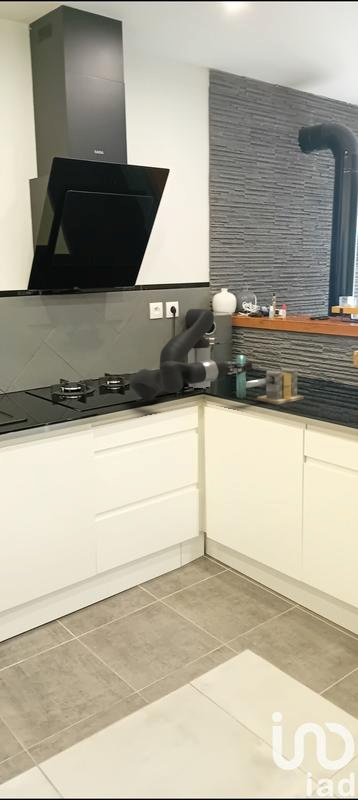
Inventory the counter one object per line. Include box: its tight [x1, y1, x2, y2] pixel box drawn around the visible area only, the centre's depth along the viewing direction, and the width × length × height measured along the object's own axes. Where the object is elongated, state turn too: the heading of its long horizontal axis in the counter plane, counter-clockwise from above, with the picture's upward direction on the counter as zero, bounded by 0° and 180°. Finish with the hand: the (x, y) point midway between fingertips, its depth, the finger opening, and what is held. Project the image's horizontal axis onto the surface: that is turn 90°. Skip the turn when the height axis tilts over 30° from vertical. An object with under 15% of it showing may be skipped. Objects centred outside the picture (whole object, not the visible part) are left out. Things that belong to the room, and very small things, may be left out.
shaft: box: [236, 354, 275, 398], centre depth 228 cm, size 18×3×15 cm, turn 125°
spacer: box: [274, 370, 292, 399], centre depth 237 cm, size 4×7×9 cm, turn 35°
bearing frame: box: [256, 367, 304, 405], centre depth 237 cm, size 14×11×11 cm
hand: (247, 364), depth 225 cm, fingers open, 3 cm apart
